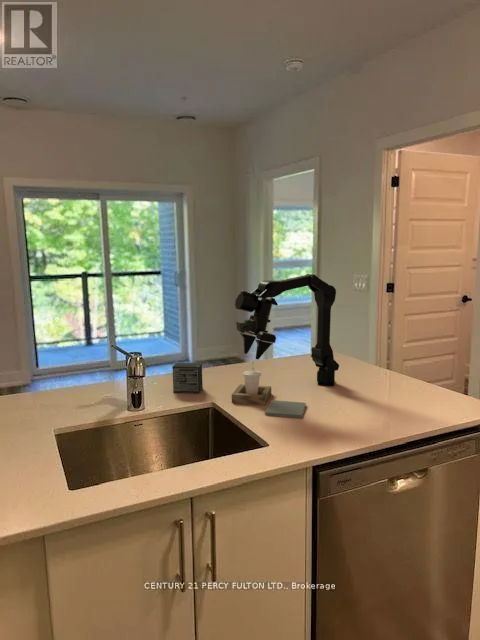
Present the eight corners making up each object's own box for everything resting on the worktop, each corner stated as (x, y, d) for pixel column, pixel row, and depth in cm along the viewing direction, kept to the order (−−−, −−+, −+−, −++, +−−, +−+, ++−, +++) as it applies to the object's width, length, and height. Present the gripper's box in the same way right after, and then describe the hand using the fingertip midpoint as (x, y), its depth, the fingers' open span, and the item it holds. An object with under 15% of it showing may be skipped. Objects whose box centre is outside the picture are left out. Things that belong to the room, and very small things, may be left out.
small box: (203, 388, 181) (202, 362, 179) (200, 393, 174) (199, 366, 172) (176, 387, 182) (175, 361, 180) (172, 393, 175) (171, 366, 173)
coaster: (305, 405, 161) (305, 402, 160) (301, 418, 149) (301, 415, 149) (272, 402, 164) (272, 400, 163) (265, 415, 152) (265, 412, 152)
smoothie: (254, 402, 164) (253, 364, 162) (239, 398, 168) (239, 361, 165) (264, 397, 169) (264, 360, 167) (250, 394, 173) (249, 358, 170)
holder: (271, 394, 173) (271, 386, 172) (264, 405, 161) (264, 397, 161) (240, 391, 176) (240, 384, 175) (231, 402, 164) (231, 394, 164)
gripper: (231, 307, 172) (221, 347, 173) (254, 314, 155) (243, 358, 156) (256, 313, 177) (247, 352, 178) (281, 320, 160) (270, 363, 161)
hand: (251, 356), depth 168 cm, fingers open, 9 cm apart
